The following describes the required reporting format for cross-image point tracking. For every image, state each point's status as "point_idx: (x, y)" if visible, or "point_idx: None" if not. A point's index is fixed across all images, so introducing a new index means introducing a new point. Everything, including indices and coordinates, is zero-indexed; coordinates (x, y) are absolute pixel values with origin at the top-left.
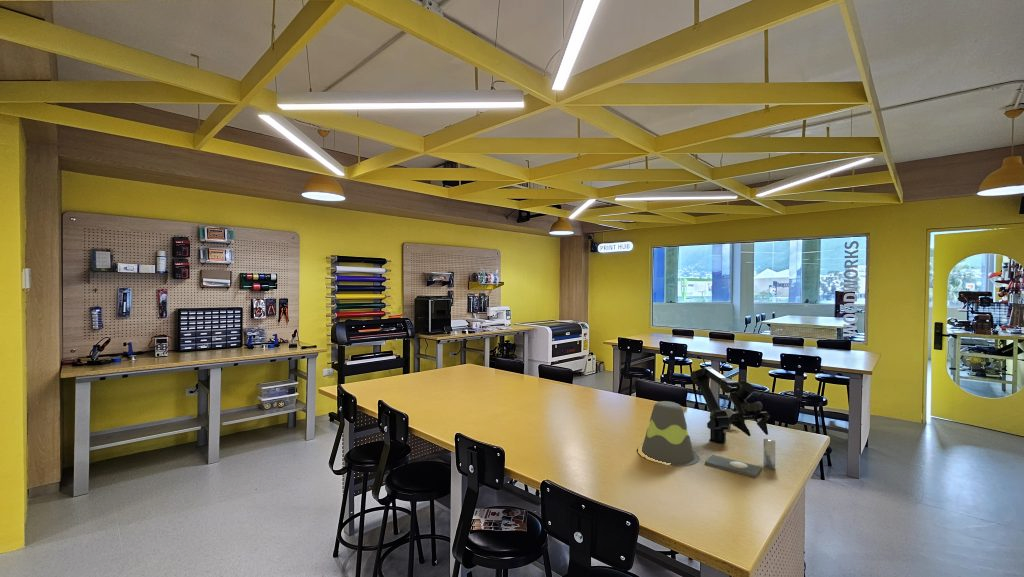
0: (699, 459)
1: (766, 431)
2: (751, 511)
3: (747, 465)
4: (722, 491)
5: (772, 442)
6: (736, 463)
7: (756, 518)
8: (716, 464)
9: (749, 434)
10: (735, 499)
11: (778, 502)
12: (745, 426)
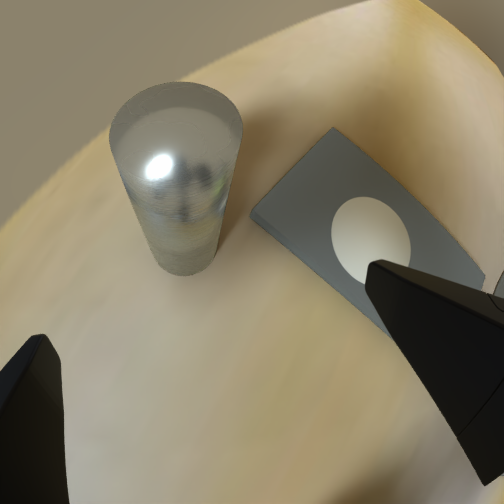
0: None
1: (32, 359)
2: (388, 28)
3: (330, 230)
4: (437, 93)
5: (181, 84)
6: (380, 254)
7: (383, 17)
8: (457, 244)
9: (389, 265)
10: (413, 61)
11: (319, 26)
12: (499, 308)
